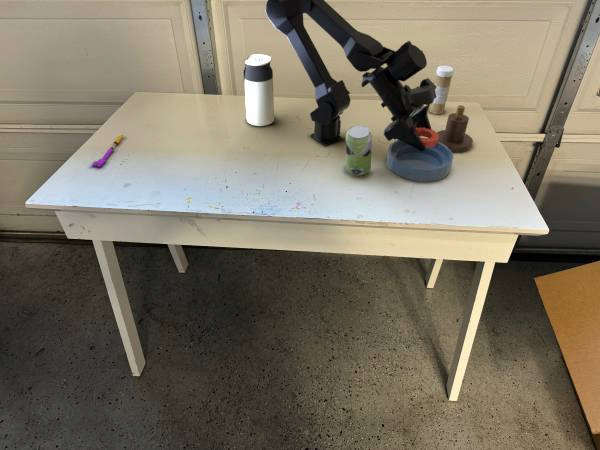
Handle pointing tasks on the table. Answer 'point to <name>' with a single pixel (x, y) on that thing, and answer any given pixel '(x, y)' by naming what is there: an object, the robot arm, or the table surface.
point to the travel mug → (259, 90)
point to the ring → (428, 137)
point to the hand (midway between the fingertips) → (427, 143)
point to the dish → (419, 161)
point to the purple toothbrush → (107, 153)
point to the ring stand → (456, 132)
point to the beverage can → (358, 150)
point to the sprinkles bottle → (441, 89)
